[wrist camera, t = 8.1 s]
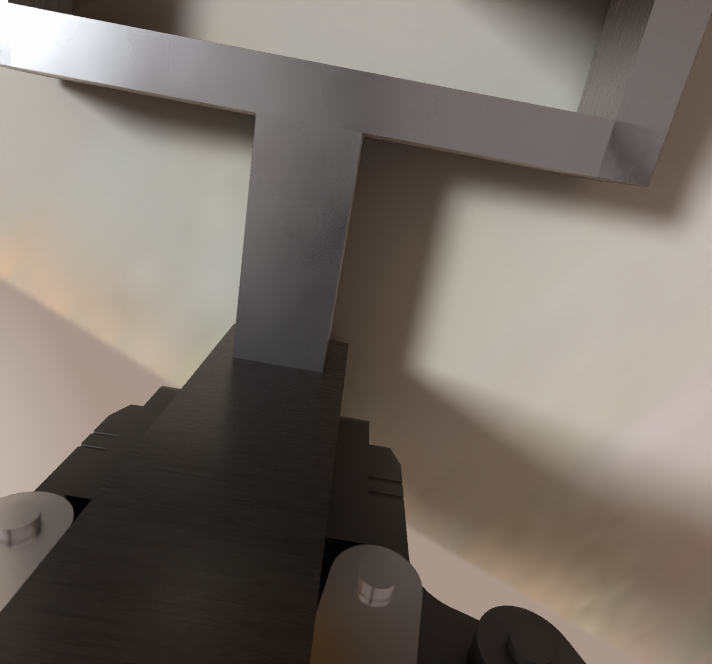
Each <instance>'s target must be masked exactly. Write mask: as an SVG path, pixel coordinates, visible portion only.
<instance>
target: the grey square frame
mask: <svg viewBox="0 0 712 664" xmlns="http://www.w3.org/2000/svg"><path fill="white" fill-rule="evenodd" d="M711 13H712V0H611V3H610V6H609V9H608V12H607V16H606V19H605V22H604V26H603V29H602V32H601V35H600V39H599V42H598V45H597V48H596V52H595V55H594V58H593V62H592V65H591V68H590V71H589V75H588V78H587V81H586V85H585V88H584V91H583V94H582V98H581V101H580V104H579V108H578V111H577V113H576V112H570V111H565V110H560V109H555V108H550V107H545V106H539V105H534V104H529V103H524V102H519V101H514V100H508V99H503V98H498V97H493V96H488V95H482V94H477V93H472V92H467V91H462V90H457V89H451V88H446V87H441V86H436V85H431V84H425V83H420V82H415V81H410V80H405V79H400V78H394V77H389V76H384V75H379V74H374V73H369V72H363V71H358V70H353V69H348V68H343V67H337V66H332V65H327V64H322V63H317V62H312V61H306V60H301V59H296V58H291V57H286V56H280V55H275V54H270V53H265V52H260V51H255V50H249V49H244V48H239V47H234V46H229V45H224V44H218V43H213V42H208V41H203V40H198V39H192V38H187V37H182V36H177V35H172V34H167V33H161V32H156V31H151V30H146V29H141V28H136V27H130V26H125V25H120V24H115V23H110V22H104V21H99V20H94V19H89V18H84V17H79V16H73V3H72V0H0V66H1V67H6V68H10V69H14V70H18V71H23V72H27V73H32V74H37V75H42V76H47V77H53V78H58V79H63V80H69V81H74V82H79V83H85V84H90V85H95V86H100V87H106V88H111V89H116V90H122V91H127V92H132V93H137V94H143V95H148V96H153V97H159V98H164V99H169V100H175V101H180V102H185V103H190V104H196V105H201V106H206V107H212V108H217V109H222V110H227V111H233V112H238V113H243V114H249V115H254V116H256V120H255V130H254V141H253V151H252V162H251V172H250V182H249V193H248V203H247V214H246V224H245V235H244V245H243V255H242V266H241V276H240V287H239V297H238V307H237V318H236V324H234V325H233V326H232V327H231V328H230V330H229V331H228V332H227V333H226V334H225V336H224V337H223V338H222V339H221V341H220V342H219V343H218V344H217V346H216V347H215V348H214V349H213V350H212V352H211V353H210V354H209V355H208V357H207V358H206V359H205V360H204V362H203V363H202V364H201V365H200V367H199V368H198V369H197V370H196V371H195V373H194V374H193V375H192V376H191V378H190V379H189V380H188V381H187V383H186V384H185V385H184V386H183V387H182V389H181V390H180V391H179V392H178V394H177V395H176V396H175V397H174V399H173V400H172V401H171V402H170V404H169V405H168V406H167V407H166V408H165V410H164V411H163V412H162V413H161V415H160V416H159V417H158V418H157V420H156V421H155V422H154V423H153V424H152V426H151V427H150V428H149V429H148V431H147V432H146V433H145V434H144V436H143V437H142V438H141V439H140V441H139V442H138V443H137V444H136V445H135V447H134V448H133V449H132V450H131V452H130V453H129V454H128V455H127V457H126V458H125V459H124V460H123V461H122V463H121V464H120V465H119V466H118V468H117V469H116V470H115V471H114V473H113V474H112V475H111V476H110V478H109V479H108V480H107V481H106V482H105V484H104V485H103V486H102V487H101V489H100V490H99V491H98V492H97V494H96V495H95V496H94V497H93V498H92V500H91V501H90V502H89V503H88V505H87V506H86V507H85V508H84V510H83V511H82V512H81V513H80V515H79V516H78V517H77V518H76V519H75V521H74V522H73V523H72V524H71V526H70V527H69V528H68V529H67V531H66V532H65V533H64V534H63V535H62V537H61V538H60V539H59V540H58V542H57V543H56V544H55V545H54V547H53V548H52V549H51V550H50V551H49V553H48V554H47V555H46V556H45V558H44V559H43V560H42V561H41V563H40V564H39V565H38V566H37V568H36V569H35V570H34V571H33V572H32V574H31V575H30V576H29V577H28V579H27V580H26V581H25V582H24V584H23V585H22V586H21V587H20V588H19V590H18V591H17V592H16V593H15V595H14V596H13V597H12V598H11V600H10V601H9V602H8V603H7V605H6V606H5V607H4V608H3V609H2V611H1V612H0V664H310V658H311V650H312V642H313V633H314V625H315V617H316V609H317V600H318V592H319V584H320V576H321V567H322V559H323V551H324V543H325V534H326V526H327V518H328V510H329V501H330V493H331V485H332V477H333V468H334V460H335V452H336V444H337V435H338V427H339V419H340V411H341V402H342V394H343V386H344V378H345V369H346V361H347V353H348V345H349V344H347V343H342V342H336V341H330V335H331V330H332V324H333V318H334V312H335V306H336V300H337V294H338V288H339V282H340V276H341V270H342V264H343V258H344V253H345V247H346V241H347V235H348V229H349V223H350V217H351V211H352V205H353V199H354V193H355V187H356V181H357V176H358V170H359V164H360V158H361V152H362V146H363V140H364V136H365V137H370V138H376V139H381V140H386V141H392V142H397V143H402V144H407V145H413V146H418V147H423V148H429V149H434V150H439V151H445V152H450V153H455V154H460V155H466V156H471V157H476V158H482V159H487V160H492V161H498V162H503V163H508V164H513V165H519V166H524V167H529V168H535V169H540V170H545V171H550V172H556V173H561V174H566V175H572V176H577V177H582V178H588V179H593V180H598V181H605V182H613V183H622V184H631V185H639V186H648V184H649V181H650V179H651V176H652V173H653V171H654V168H655V165H656V162H657V160H658V157H659V154H660V152H661V149H662V146H663V143H664V141H665V138H666V135H667V133H668V130H669V127H670V124H671V122H672V119H673V116H674V114H675V111H676V108H677V105H678V103H679V100H680V97H681V95H682V92H683V89H684V86H685V84H686V81H687V78H688V76H689V73H690V70H691V67H692V65H693V62H694V59H695V57H696V54H697V51H698V48H699V46H700V43H701V40H702V38H703V35H704V32H705V29H706V27H707V24H708V21H709V19H710V16H711Z"/></svg>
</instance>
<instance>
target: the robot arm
mask: <svg viewBox="0 0 712 664" xmlns="http://www.w3.org/2000/svg"><path fill="white" fill-rule="evenodd" d="M180 390H181V389H178V388H172V387H166V386H162V387H160V388H159V389H158V391H157V392H156V393H155V394H154V395H153V396H152V397H151V398H150V400H149V401H148V402H147V403H146V404H145V405H144V406H138V405H129V406H127V407H125V408H123V409H121V410H119V411H117V412H115V413H113V414H111V415H109V416H108V417H107V418H106V419H105V420H104V421H103V422H102V423H101V424H100V425H99V426H98V427H97V428H96V429H95V430H94V433H93V434H90V435H89V436H88V437H87V438H86V439H85V440H84V441H83V442H82V444H81V447H77V448H76V449H75V450H74V451H73V452H72V453H71V454H70V455H69V456H68V458H66V459H65V460H64V462H63V463H62V464H61V465H60V466H59V467H58V468H57V469H56V470H55V471H54V472H53V473H52V474H51V475H50V476H49V477H48V478H47V479H46V480H45V481H44V482H43V483H42V484H41V485H40V486H39V487H38V488H37V489H36V490H35V491H34V492H23V493H17V494H13V495H9V496H6V497H2V498H0V612H1V611H2V609H3V608H4V607H5V606H6V605H7V603H8V602H9V601H10V600H11V598H12V597H13V596H14V595H15V593H16V592H17V591H18V590H19V588H20V587H21V586H22V585H23V584H24V582H25V581H26V580H27V579H28V577H29V576H30V575H31V574H32V572H33V571H34V570H35V569H36V568H37V566H38V565H39V564H40V563H41V561H42V560H43V559H44V558H45V556H46V555H47V554H48V553H49V551H50V550H51V549H52V548H53V547H54V545H55V544H56V543H57V542H58V540H59V539H60V538H61V537H62V535H63V534H64V533H65V532H66V531H67V529H68V528H69V527H70V526H71V524H72V523H73V522H74V521H75V519H76V518H77V517H78V516H79V515H80V513H81V512H82V511H83V510H84V508H85V507H86V506H87V505H88V503H89V502H90V501H91V500H92V498H93V497H94V496H95V495H96V494H97V492H98V491H99V490H100V489H101V487H102V486H103V485H104V484H105V482H106V481H107V480H108V479H109V478H110V476H111V475H112V474H113V473H114V471H115V470H116V469H117V468H118V466H119V465H120V464H121V463H122V461H123V460H124V459H125V458H126V457H127V455H128V454H129V453H130V452H131V450H132V449H133V448H134V447H135V445H136V444H137V443H138V442H139V441H140V439H141V438H142V437H143V436H144V434H145V433H146V432H147V431H148V429H149V428H150V427H151V426H152V424H153V423H154V422H155V421H156V420H157V418H158V417H159V416H160V415H161V413H162V412H163V411H164V410H165V408H166V407H167V406H168V405H169V404H170V402H171V401H172V400H173V399H174V397H175V396H176V395H177V394H178V392H179V391H180ZM310 664H586V663H585V662H584V661H583V659H582V658H581V657H580V656H579V654H578V653H577V652H576V651H575V649H574V648H573V647H572V645H571V644H570V643H569V642H568V641H567V640H566V638H565V637H564V636H563V635H562V634H561V633H560V631H559V630H557V629H556V628H555V627H554V626H553V625H552V624H551V623H549V622H548V621H547V620H545V619H544V618H542V617H541V616H539V615H537V614H535V613H533V612H531V611H529V610H526V609H523V608H520V607H515V606H498V607H495V608H492V609H490V610H489V611H487V612H486V613H485V614H484V615H483V616H482V617H481V619H480V621H479V620H477V619H475V618H473V617H471V616H468V615H466V614H464V613H462V612H460V611H458V610H455V609H453V608H451V607H449V606H447V605H445V604H443V603H442V602H440V601H439V600H437V599H436V598H434V597H433V596H432V595H431V594H430V593H428V592H427V591H426V590H425V588H424V587H423V586H422V583H421V580H420V578H419V575H418V573H417V572H416V570H415V569H414V567H413V566H412V565H411V564H410V561H409V554H408V542H407V531H406V520H405V509H404V500H403V486H402V475H401V464H400V463H399V461H398V460H397V458H396V457H395V455H394V454H393V452H392V451H391V449H390V448H386V447H380V446H374V445H369V421H365V420H359V419H353V418H347V417H341V416H340V419H339V427H338V435H337V444H336V452H335V460H334V468H333V477H332V485H331V493H330V501H329V510H328V518H327V526H326V534H325V543H324V551H323V559H322V567H321V576H320V584H319V592H318V600H317V609H316V617H315V625H314V633H313V642H312V650H311V658H310Z"/></svg>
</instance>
